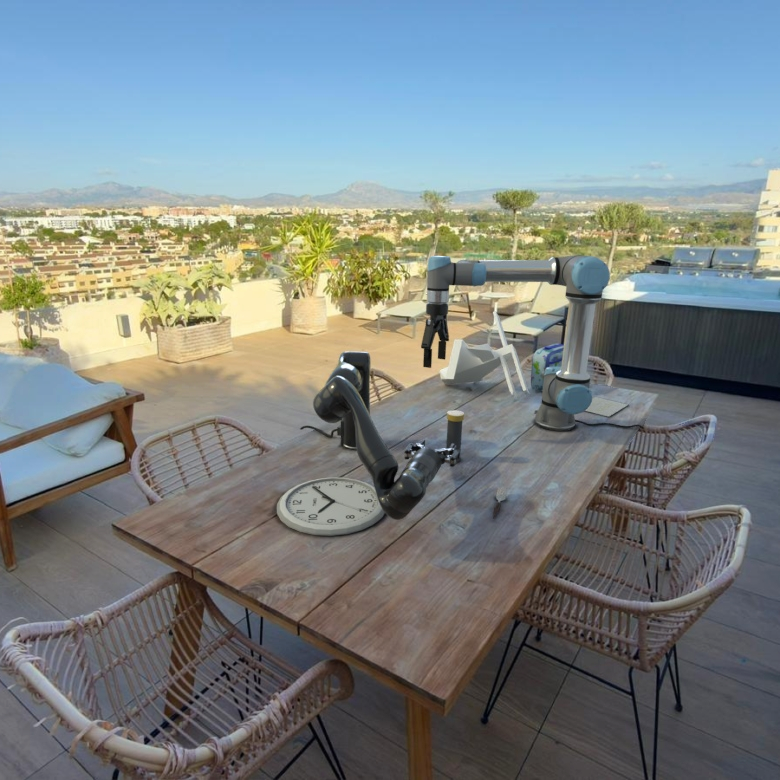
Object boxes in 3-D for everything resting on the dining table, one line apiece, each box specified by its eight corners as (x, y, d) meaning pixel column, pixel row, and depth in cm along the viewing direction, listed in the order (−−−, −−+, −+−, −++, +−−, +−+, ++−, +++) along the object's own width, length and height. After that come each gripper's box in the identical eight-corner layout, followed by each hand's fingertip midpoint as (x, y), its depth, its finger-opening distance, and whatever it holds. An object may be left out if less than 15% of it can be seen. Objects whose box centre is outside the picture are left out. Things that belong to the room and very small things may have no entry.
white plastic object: (461, 429, 252) (437, 405, 227) (444, 352, 274) (420, 323, 250) (535, 404, 240) (518, 377, 215) (510, 326, 262) (492, 293, 237)
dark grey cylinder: (462, 461, 171) (465, 415, 166) (450, 464, 169) (453, 417, 164) (454, 455, 175) (457, 411, 170) (442, 458, 173) (445, 413, 168)
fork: (488, 519, 137) (488, 512, 136) (497, 492, 151) (498, 485, 151) (498, 521, 136) (498, 514, 135) (507, 493, 150) (507, 487, 150)
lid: (467, 420, 167) (467, 414, 166) (452, 422, 164) (453, 416, 164) (457, 414, 171) (457, 409, 171) (443, 417, 169) (443, 411, 168)
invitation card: (608, 416, 214) (573, 407, 224) (608, 416, 214) (573, 408, 224) (628, 404, 229) (594, 396, 238) (628, 405, 229) (594, 397, 238)
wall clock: (392, 527, 129) (268, 531, 127) (391, 533, 130) (269, 537, 127) (383, 473, 158) (282, 475, 155) (383, 478, 158) (282, 480, 156)
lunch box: (547, 395, 239) (552, 351, 233) (526, 390, 247) (530, 347, 240) (574, 384, 257) (579, 343, 251) (554, 380, 264) (558, 339, 258)
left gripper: (395, 476, 136) (414, 453, 151) (449, 485, 131) (462, 460, 146) (396, 449, 134) (414, 428, 148) (450, 458, 129) (464, 435, 144)
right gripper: (440, 297, 191) (437, 354, 197) (412, 306, 169) (410, 369, 176) (459, 299, 188) (456, 357, 194) (434, 308, 166) (431, 372, 173)
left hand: (438, 444), depth 147 cm, fingers open, 8 cm apart
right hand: (434, 363), depth 185 cm, fingers open, 13 cm apart
